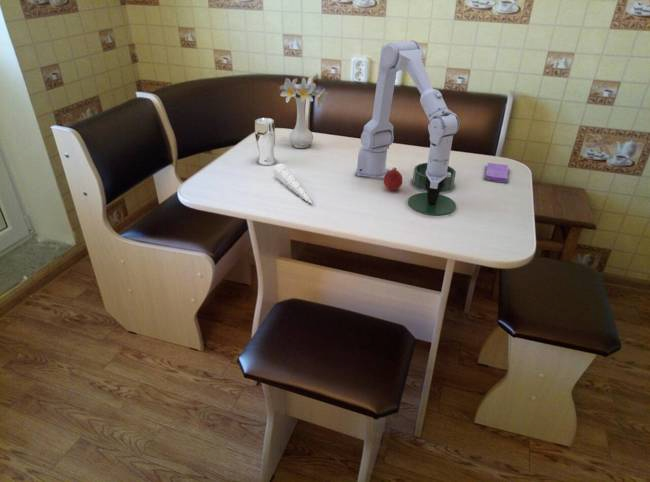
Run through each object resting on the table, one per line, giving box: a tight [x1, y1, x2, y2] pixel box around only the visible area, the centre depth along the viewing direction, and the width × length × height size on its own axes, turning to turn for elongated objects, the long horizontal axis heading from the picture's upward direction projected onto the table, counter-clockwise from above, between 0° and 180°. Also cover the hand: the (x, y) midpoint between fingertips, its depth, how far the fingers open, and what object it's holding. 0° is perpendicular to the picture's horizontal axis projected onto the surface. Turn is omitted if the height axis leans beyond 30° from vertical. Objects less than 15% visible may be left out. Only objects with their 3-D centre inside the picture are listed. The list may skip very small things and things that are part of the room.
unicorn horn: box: [272, 163, 313, 205], centre depth 142 cm, size 5×24×5 cm, turn 26°
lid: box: [407, 192, 457, 217], centre depth 134 cm, size 14×14×5 cm
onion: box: [383, 166, 403, 192], centre depth 142 cm, size 6×6×8 cm
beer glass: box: [254, 117, 276, 166], centre depth 159 cm, size 7×7×15 cm
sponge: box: [484, 162, 509, 184], centre depth 156 cm, size 7×13×2 cm, turn 160°
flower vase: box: [279, 77, 329, 149], centre depth 171 cm, size 13×18×25 cm
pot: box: [412, 162, 457, 193], centre depth 147 cm, size 13×13×5 cm
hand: (432, 200), depth 135 cm, fingers closed on lid, 2 cm apart
